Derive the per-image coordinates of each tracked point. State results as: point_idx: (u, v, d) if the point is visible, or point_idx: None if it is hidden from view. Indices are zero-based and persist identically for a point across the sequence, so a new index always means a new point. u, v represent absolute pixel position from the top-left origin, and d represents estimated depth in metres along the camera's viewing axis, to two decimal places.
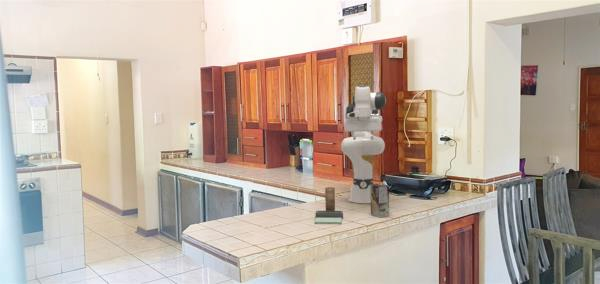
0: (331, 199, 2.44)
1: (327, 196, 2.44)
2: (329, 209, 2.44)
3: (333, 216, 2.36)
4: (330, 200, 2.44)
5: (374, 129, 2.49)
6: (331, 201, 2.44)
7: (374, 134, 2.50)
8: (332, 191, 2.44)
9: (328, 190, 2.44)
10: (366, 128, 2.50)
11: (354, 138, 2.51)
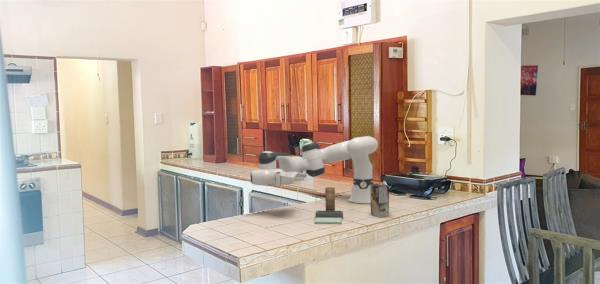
0: (331, 199, 2.44)
1: (327, 196, 2.44)
2: (329, 209, 2.44)
3: (333, 216, 2.36)
4: (330, 200, 2.44)
5: (296, 172, 2.54)
6: (331, 201, 2.44)
7: None
8: (332, 191, 2.44)
9: (328, 190, 2.44)
10: (294, 173, 2.50)
11: (302, 177, 2.42)
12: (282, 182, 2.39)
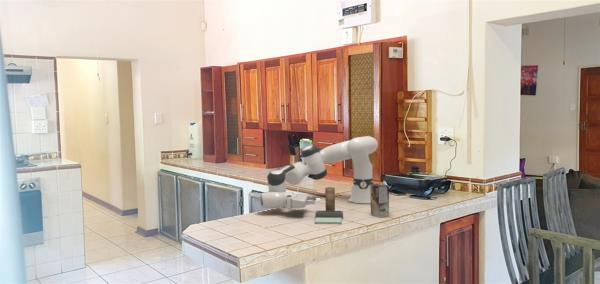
0: (331, 199, 2.44)
1: (327, 196, 2.44)
2: (329, 209, 2.44)
3: (333, 216, 2.36)
4: (330, 200, 2.44)
5: (306, 194, 2.53)
6: (331, 201, 2.44)
7: (311, 196, 2.53)
8: (332, 191, 2.44)
9: (328, 190, 2.44)
10: (305, 196, 2.49)
11: (313, 200, 2.42)
12: (293, 206, 2.39)
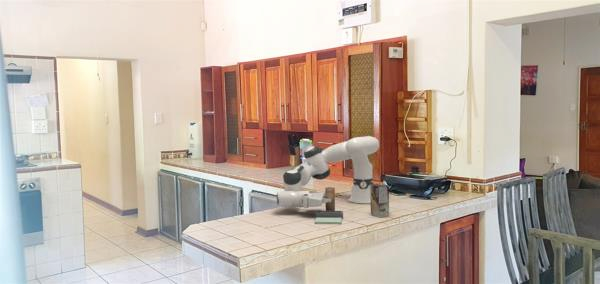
0: None
1: (327, 196, 2.44)
2: (329, 209, 2.44)
3: (333, 216, 2.36)
4: None
5: (322, 193, 2.53)
6: (331, 201, 2.44)
7: None
8: (332, 191, 2.44)
9: (328, 190, 2.44)
10: (321, 195, 2.49)
11: (330, 198, 2.43)
12: (310, 204, 2.38)
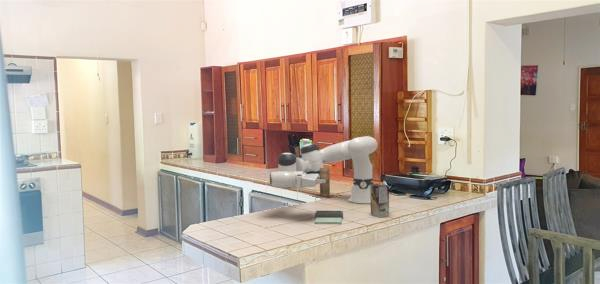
0: None
1: (321, 177, 2.36)
2: (323, 190, 2.36)
3: (333, 216, 2.36)
4: None
5: (317, 174, 2.44)
6: (326, 182, 2.36)
7: None
8: (327, 172, 2.36)
9: (322, 170, 2.35)
10: (315, 175, 2.40)
11: (324, 179, 2.35)
12: (303, 185, 2.30)
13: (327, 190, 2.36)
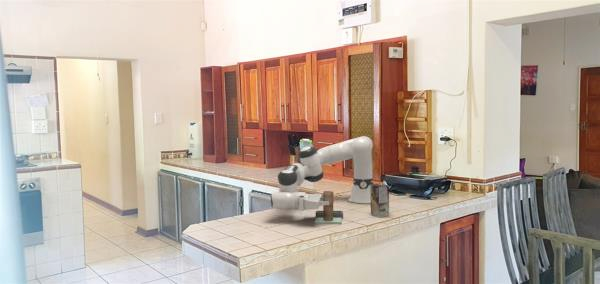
0: (329, 204, 2.27)
1: None
2: (327, 215, 2.27)
3: (333, 216, 2.36)
4: (328, 205, 2.27)
5: (319, 195, 2.36)
6: (330, 206, 2.27)
7: None
8: (330, 195, 2.27)
9: (326, 194, 2.27)
10: (318, 196, 2.32)
11: (327, 201, 2.25)
12: (306, 207, 2.21)
13: (331, 214, 2.28)
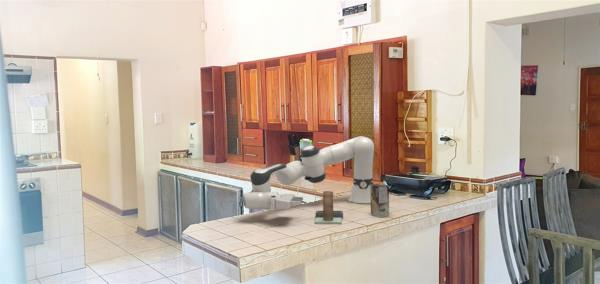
0: (329, 204, 2.27)
1: (325, 201, 2.27)
2: (327, 214, 2.27)
3: (333, 216, 2.36)
4: (328, 205, 2.27)
5: (292, 195, 2.37)
6: (329, 206, 2.27)
7: None
8: (330, 195, 2.27)
9: (326, 194, 2.27)
10: (290, 196, 2.33)
11: (299, 201, 2.26)
12: (277, 207, 2.23)
13: (331, 214, 2.28)
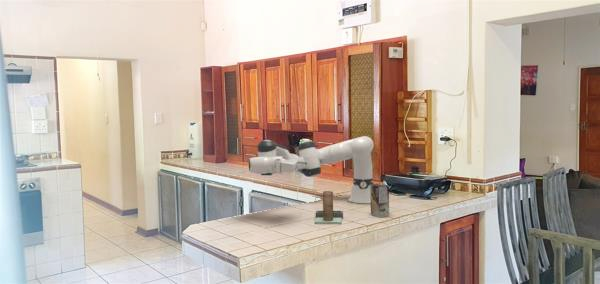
0: (329, 204, 2.27)
1: (325, 200, 2.27)
2: (327, 214, 2.27)
3: (333, 216, 2.36)
4: (328, 205, 2.27)
5: (296, 160, 2.41)
6: (329, 206, 2.27)
7: (302, 161, 2.41)
8: (330, 195, 2.27)
9: (326, 194, 2.27)
10: None
11: (303, 164, 2.30)
12: (282, 169, 2.27)
13: (330, 214, 2.28)
